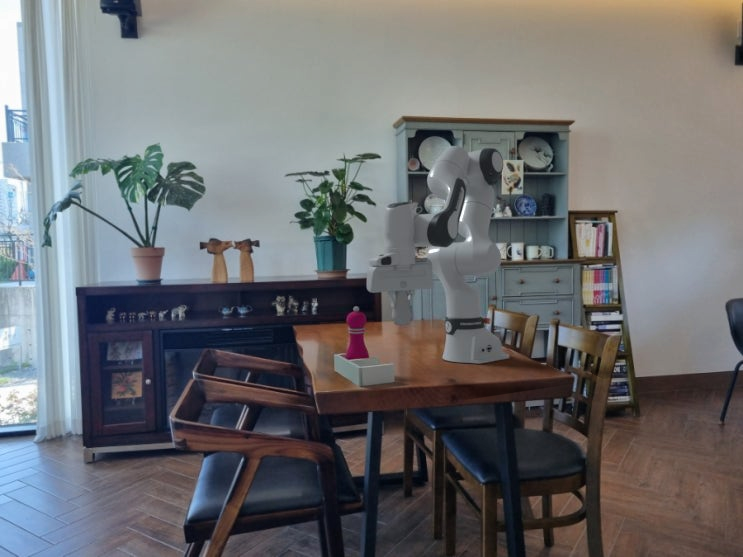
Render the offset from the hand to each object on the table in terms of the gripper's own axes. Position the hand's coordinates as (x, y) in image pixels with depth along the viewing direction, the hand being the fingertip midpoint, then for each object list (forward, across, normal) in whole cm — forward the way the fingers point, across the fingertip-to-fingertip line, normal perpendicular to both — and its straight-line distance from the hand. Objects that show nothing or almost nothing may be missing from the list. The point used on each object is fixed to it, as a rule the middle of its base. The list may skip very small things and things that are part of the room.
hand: (401, 306), depth 144 cm
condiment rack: (+20, +11, -5) cm, 23 cm away
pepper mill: (+20, +11, -10) cm, 25 cm away
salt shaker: (+5, 0, 0) cm, 5 cm away
